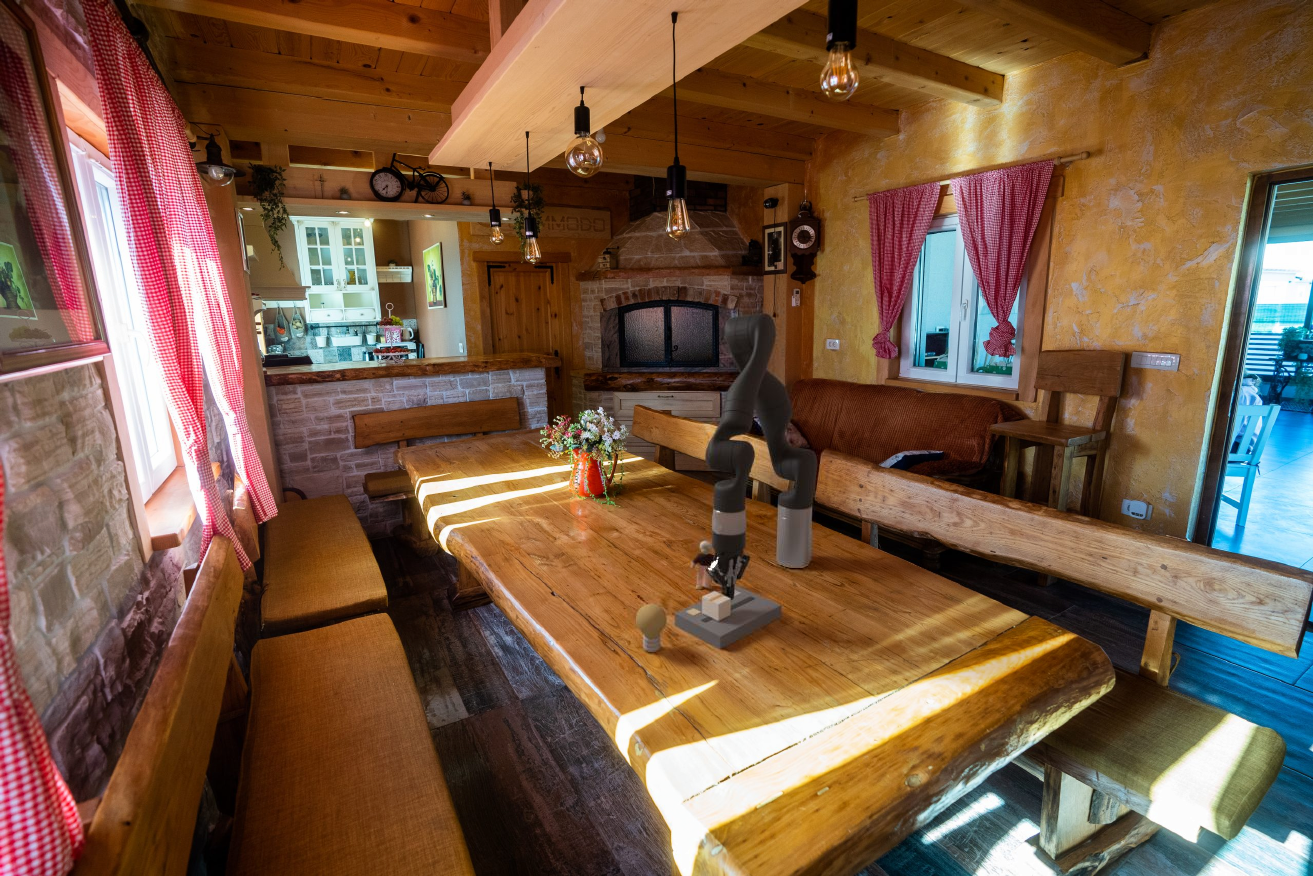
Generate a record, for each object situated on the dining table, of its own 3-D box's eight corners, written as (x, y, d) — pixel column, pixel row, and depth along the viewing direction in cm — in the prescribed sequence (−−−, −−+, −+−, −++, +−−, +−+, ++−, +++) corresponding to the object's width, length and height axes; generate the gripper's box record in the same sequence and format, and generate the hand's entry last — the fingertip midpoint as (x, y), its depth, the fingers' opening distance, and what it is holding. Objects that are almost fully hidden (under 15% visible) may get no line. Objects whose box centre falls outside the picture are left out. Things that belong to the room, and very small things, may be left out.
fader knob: (714, 607, 145) (714, 590, 144) (730, 614, 141) (730, 598, 140) (701, 613, 142) (701, 596, 141) (718, 621, 139) (718, 603, 138)
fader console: (736, 596, 157) (736, 585, 156) (781, 616, 147) (781, 604, 146) (674, 625, 144) (674, 612, 143) (720, 649, 133) (720, 636, 133)
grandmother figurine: (694, 592, 160) (694, 545, 157) (689, 585, 164) (689, 539, 161) (722, 588, 162) (723, 541, 159) (717, 582, 166) (717, 536, 163)
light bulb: (649, 638, 138) (649, 596, 136) (672, 647, 134) (672, 604, 132) (630, 650, 133) (629, 606, 131) (653, 660, 129) (653, 616, 127)
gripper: (735, 516, 147) (734, 585, 151) (696, 530, 139) (695, 603, 142) (761, 524, 142) (759, 596, 145) (721, 539, 133) (720, 614, 137)
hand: (727, 599), depth 144 cm, fingers closed
